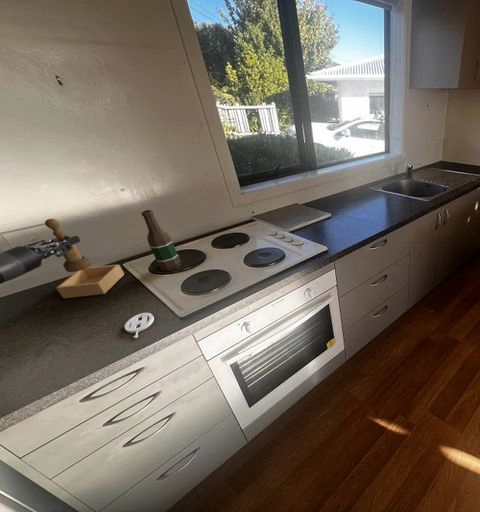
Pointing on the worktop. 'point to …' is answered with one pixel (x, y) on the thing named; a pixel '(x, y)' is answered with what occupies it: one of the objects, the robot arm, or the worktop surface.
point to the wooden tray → (90, 281)
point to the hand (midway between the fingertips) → (72, 238)
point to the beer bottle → (160, 243)
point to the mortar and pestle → (73, 256)
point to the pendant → (139, 323)
